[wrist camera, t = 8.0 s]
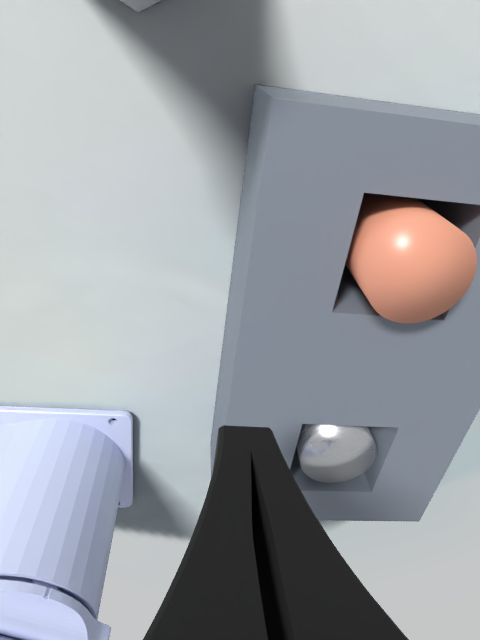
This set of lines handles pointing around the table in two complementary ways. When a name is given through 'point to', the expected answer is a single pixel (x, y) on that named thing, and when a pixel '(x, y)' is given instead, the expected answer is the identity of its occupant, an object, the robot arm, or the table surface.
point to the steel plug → (335, 451)
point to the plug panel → (348, 296)
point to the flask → (139, 4)
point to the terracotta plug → (409, 258)
